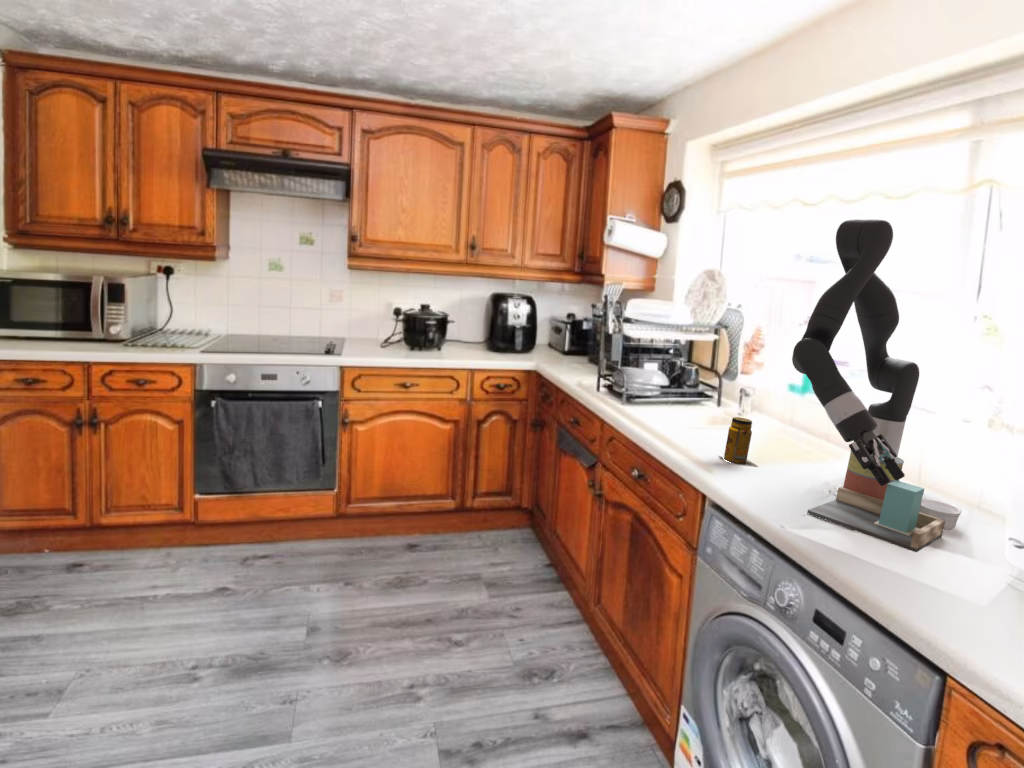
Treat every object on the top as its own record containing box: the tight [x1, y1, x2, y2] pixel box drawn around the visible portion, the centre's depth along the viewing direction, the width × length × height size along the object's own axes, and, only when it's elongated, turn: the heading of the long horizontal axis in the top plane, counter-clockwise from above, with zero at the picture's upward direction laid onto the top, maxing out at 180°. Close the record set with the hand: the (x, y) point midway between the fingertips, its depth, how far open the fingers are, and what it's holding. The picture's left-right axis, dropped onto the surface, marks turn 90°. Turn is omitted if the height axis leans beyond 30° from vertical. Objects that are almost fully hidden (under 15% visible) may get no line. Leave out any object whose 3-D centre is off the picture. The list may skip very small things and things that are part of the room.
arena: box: [806, 486, 946, 553], centre depth 145 cm, size 16×22×4 cm
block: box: [878, 480, 925, 533], centre depth 143 cm, size 6×6×9 cm
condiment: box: [723, 416, 759, 467], centre depth 184 cm, size 7×8×12 cm
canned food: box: [842, 449, 905, 501], centre depth 159 cm, size 11×11×12 cm
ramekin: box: [919, 498, 962, 531], centre depth 151 cm, size 9×9×4 cm
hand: (893, 481), depth 144 cm, fingers open, 8 cm apart
